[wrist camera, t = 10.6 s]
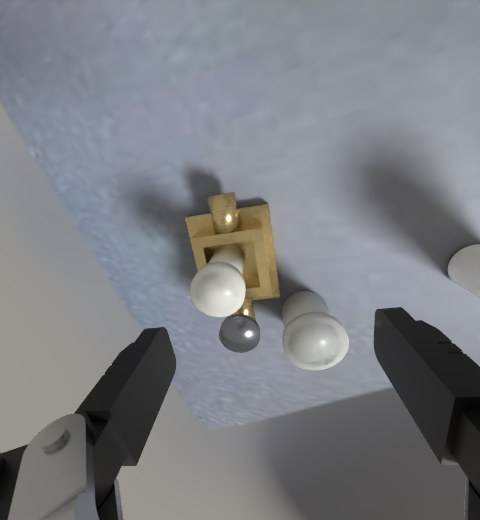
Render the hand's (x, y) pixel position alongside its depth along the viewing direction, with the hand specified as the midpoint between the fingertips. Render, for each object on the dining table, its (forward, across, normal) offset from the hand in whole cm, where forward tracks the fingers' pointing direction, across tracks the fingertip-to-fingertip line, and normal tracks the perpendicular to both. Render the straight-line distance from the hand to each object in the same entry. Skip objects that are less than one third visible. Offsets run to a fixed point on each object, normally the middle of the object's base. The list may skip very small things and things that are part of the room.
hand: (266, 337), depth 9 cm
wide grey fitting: (+21, -4, +13) cm, 25 cm away
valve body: (+21, +4, +4) cm, 22 cm away
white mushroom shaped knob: (+20, +5, +4) cm, 21 cm away
